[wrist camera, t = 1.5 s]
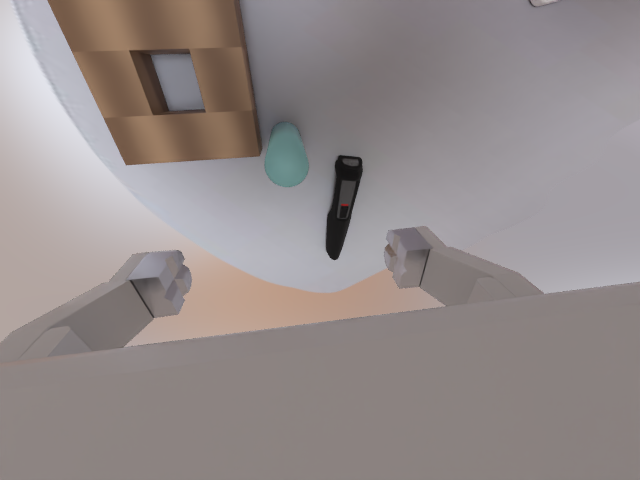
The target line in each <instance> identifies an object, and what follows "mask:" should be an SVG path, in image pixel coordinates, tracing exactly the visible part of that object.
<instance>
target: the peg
mask: <svg viewBox="0 0 640 480" xmlns="http://www.w3.org/2000/svg"><path fill="white" fill-rule="evenodd" d="M308 168H309V164H308V159H307V156H306V153H305V149H304V146H303V143H302V140H301V137H300V134H299V131H298V129H297V128H296V127H295V126H294V125H293V124H291V123H289V122H281V123H278V124H277V125H275V126H274V128H273V129H272V132H271V136H270V140H269V144H268V149H267V153H266V157H265V171H266V174H267V175H268V177H269V178H270V180H271V181H273V182H274V183H275V184H277V185H279V186H282V187H293V186H296V185H298V184H299V183H301V182H302V181H303V180H304V179H305V177H306V175H307V173H308Z"/></svg>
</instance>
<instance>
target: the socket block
mask: <svg viewBox="0 0 640 480" xmlns="http://www.w3.org/2000/svg"><path fill="white" fill-rule="evenodd" d="M48 3H49V5H50V7H51V9H52V11H53V13H54V15H55V17H56V19H57V21H58V23H59V26H60V28H61V30H62V32H63V34H64V36H65V38H66V40H67V42H68V44H69V47H70V49H71V51H72V53H73V55H74V57H75V59H76V61H77V63H78V65H79V68H80V70H81V72H82V74H83V76H84V78H85V80H86V82H87V84H88V86H89V89H90V91H91V93H92V95H93V97H94V99H95V101H96V103H97V105H98V107H99V110H100V112H101V114H102V116H103V118H104V120H105V122H106V124H107V126H108V128H109V131H110V133H111V135H112V137H113V139H114V141H115V143H116V145H117V147H118V149H119V152H120V154H121V156H122V158H123V160H124V162H125V164H126V165H136V164H151V163H166V162H181V161H196V160H211V159H226V158H241V157H256V156H260V154H261V151H262V142H261V136H260V130H259V124H258V117H257V111H256V105H255V98H254V92H253V86H252V80H251V73H250V67H249V61H248V54H247V48H246V42H245V36H244V29H243V23H242V17H241V10H240V4H239V0H48ZM188 53H190V54H191V58H192V61H193V65H194V69H195V73H196V77H197V81H198V84H199V88H200V92H201V96H202V100H203V103H204V107H205V110H184V111H169V110H168V107H167V104H166V101H165V98H164V95H163V92H162V89H161V86H160V83H159V80H158V77H157V74H156V71H155V68H154V65H153V62H152V59H151V56H150V55H155V54H188Z"/></svg>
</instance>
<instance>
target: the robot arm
mask: <svg viewBox="0 0 640 480" xmlns="http://www.w3.org/2000/svg"><path fill="white" fill-rule="evenodd" d="M557 1H561V0H531V3H532V4H533V5H534V6H537V7H538V6H543V5H546V4H550V3H553V2H557ZM386 240H387V241H388V243H389V244H388V245H387V246H386V247H385V251H384V258H385V263H386V266H387V268H388V270H390V271H392V272H393V279H394V280H395V282H396V284H397V286H398V287H399V288H410V287H420V288H421V289H423V290H424V291H426V292H427V293H428V294H430V295H431V296H433V297H434V298H436V299H437V300H438V301H440V302H441V303H443V304H444V305H446V306H445V307H438V308H430V309H422V310H414V311H407V312H398V313H390V314H382V315H374V316H367V317H359V318H351V319H343V320H335V321H327V322H319V323H311V324H303V325H295V326H288V327H280V328H272V329H264V330H257V331H249V332H242V333H233V334H225V335H217V336H209V337H202V338H193V339H186V340H178V341H170V342H162V343H154V344H146V345H138V346H131V347H124V346H125V345H126V344H127V343H128V342H129V341H130V340H131V339H133V338H134V337H135V336H136V335H137V334H138V333H139V332H140V331H141V330H142V329H144V328H145V327H146V326H147V325H148V324H149V323H150V322H151V321H152V320H153V318H157V317H164V316H171V315H178V314H179V312H180V309H181V307H182V305H183V303H184V301H185V300H184V298H183V296H184V295H185V294H186V293H188V292H189V290H190V287H191V282H192V278H191V273H190V270H189V268H188V267H186V266H185V265H183V262H184V256H183V255H182V252H180V251H179V250H173V251H158V252H145V253H137V254H133V255H132V256H131V257H130V258H129V259H128V260H127V261H126V263H125V264H124V265H123V266H122V267H121V268H120V269H119V271H118V272H117V273H116V274H115V275H114V276H113V277H112V278H111V279H110V281H109V282H107V283H102V284H100V285H98V286H96V287H94V288H93V289H91V290H89V291H87V292H85V293H83V294H81V295H80V296H78V297H76V298H74V299H72V300H70V301H69V302H67V303H65V304H63V305H61V306H59V307H58V308H55V309H54V310H52V311H50V312H48V313H46V314H44V315H43V316H41V317H39V318H37V319H35V320H33V321H31V322H30V323H28V324H26V325H24V326H22V327H20V328H18V329H17V330H15V331H13V332H12V333H10V334H9V335H8V336H7V337H6V338H5V339H4V340H3V341H2V342H1V343H0V480H640V282H635V283H627V284H619V285H611V286H603V287H595V288H588V289H579V290H572V291H563V292H556V293H548V294H544V293H543V292H542V291H541V290H539V289H538V288H537V287H536V286H534V285H533V284H532V283H531V282H529V281H528V280H527V279H526V278H525V277H523V276H522V275H521V274H519V273H518V272H515V271H513V270H510V269H508V268H505V267H502V266H500V265H497V264H494V263H492V262H489V261H487V260H484V259H482V258H479V257H476V256H474V255H471V254H469V253H466V252H463V251H461V250H458V249H456V248H453V247H447V246H446V245H445V244H444V243H443V242H442V241H441V240H440V239H439V238H438V237H437V236H436V235H435V234H434V233H433V232H432V231H431V230H430V229H429V228H428V227H426V226H420V227H412V228H405V229H396V230H388V233H387V237H386Z"/></svg>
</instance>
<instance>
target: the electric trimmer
mask: <svg viewBox="0 0 640 480" xmlns="http://www.w3.org/2000/svg"><path fill="white" fill-rule="evenodd" d="M335 169H336V174H337V178H336V187H335V194H334V200H333V205H332V209H331V211H330V213H329V214H328V218H327V239H326V251H327V253H328V255H329V256H330V258H331V259H333V260H336V259H338V257H339V255H340V252H341V250H342V247H343V244H344V240H345V237H346V233H347V230H348V227H349V223H350V219H351V214H352V209H353V206H354V202H355V198H356V195H357V191H358V187H359V183H360V179H361V176H362V172H363V168H362V159H361V158H360V157H352V156H342V155H340V156H339V157H338V160H337V161H336V165H335Z"/></svg>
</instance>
